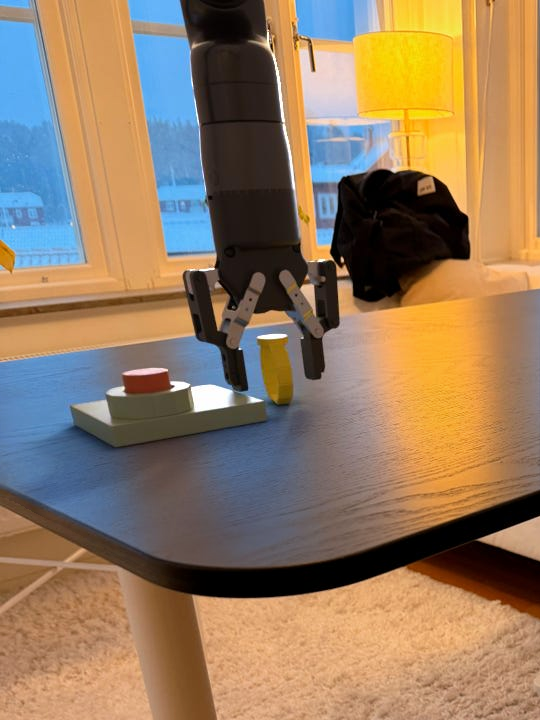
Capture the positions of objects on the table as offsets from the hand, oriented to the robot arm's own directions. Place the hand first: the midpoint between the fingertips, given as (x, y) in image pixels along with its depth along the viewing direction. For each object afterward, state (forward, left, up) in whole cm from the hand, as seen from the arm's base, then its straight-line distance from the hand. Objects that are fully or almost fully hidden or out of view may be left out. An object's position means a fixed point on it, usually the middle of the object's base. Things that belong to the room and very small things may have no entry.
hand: (277, 384), depth 83 cm
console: (-11, -1, -2) cm, 11 cm away
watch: (0, 0, -2) cm, 2 cm away
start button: (-13, -4, +2) cm, 14 cm away
